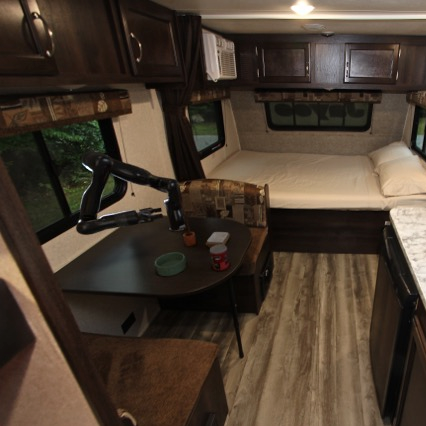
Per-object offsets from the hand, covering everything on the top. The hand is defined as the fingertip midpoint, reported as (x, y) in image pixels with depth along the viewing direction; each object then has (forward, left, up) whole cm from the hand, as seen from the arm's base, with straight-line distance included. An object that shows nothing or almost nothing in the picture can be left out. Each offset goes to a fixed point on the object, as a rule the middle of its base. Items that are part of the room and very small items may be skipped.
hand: (162, 212), depth 155 cm
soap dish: (+8, +25, -23) cm, 34 cm away
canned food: (+31, +21, -23) cm, 44 cm away
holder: (0, +11, -23) cm, 25 cm away
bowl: (+20, -1, -23) cm, 30 cm away
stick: (0, +11, -22) cm, 24 cm away
